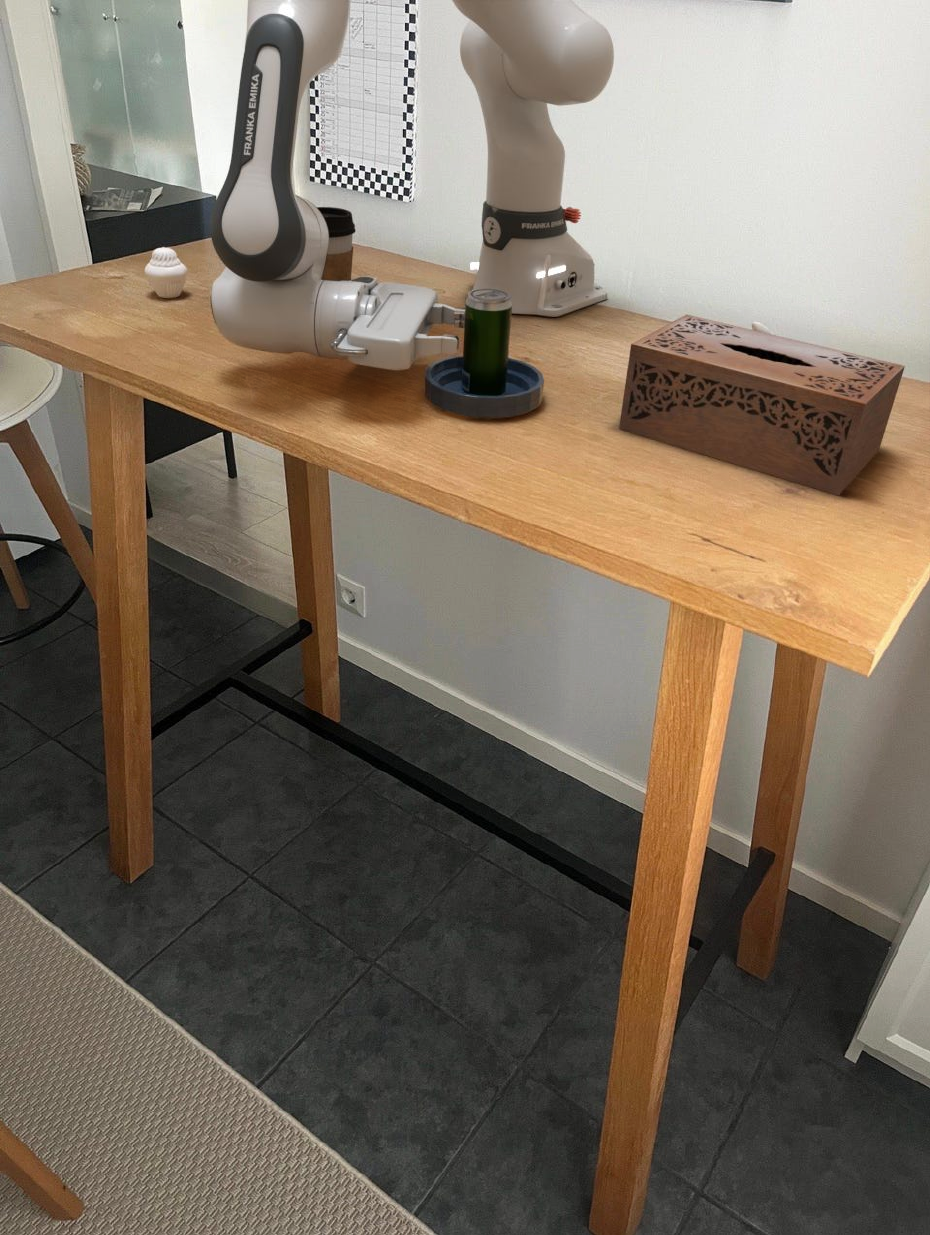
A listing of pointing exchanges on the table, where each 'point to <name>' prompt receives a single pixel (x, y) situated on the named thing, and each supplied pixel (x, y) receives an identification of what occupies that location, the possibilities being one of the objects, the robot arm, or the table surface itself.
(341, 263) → the coffee cup
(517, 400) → the bowl
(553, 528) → the table surface
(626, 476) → the table surface
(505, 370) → the beer can
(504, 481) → the table surface
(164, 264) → the muffin
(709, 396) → the tissue box cover
